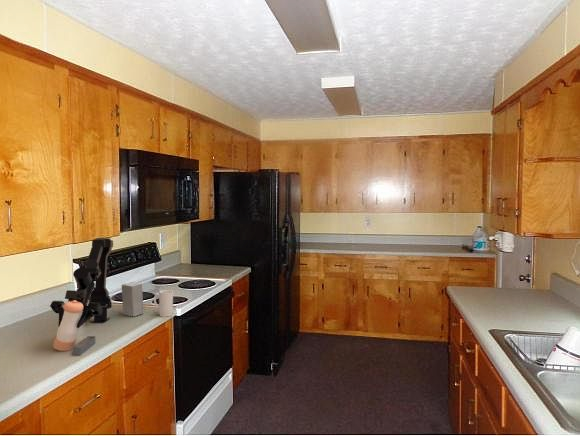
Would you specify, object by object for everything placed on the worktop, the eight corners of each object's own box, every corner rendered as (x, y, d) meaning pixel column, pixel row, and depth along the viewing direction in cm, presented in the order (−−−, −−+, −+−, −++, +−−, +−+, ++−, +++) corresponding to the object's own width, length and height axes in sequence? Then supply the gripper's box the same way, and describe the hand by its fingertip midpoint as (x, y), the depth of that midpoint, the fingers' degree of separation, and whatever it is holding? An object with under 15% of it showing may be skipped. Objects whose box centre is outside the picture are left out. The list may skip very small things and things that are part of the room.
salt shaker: (53, 351, 153) (65, 304, 151) (52, 341, 159) (63, 296, 157) (75, 350, 157) (86, 304, 155) (72, 341, 163) (83, 297, 161)
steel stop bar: (87, 343, 164) (88, 336, 164) (95, 343, 164) (95, 336, 164) (72, 355, 152) (72, 347, 152) (80, 355, 152) (80, 347, 152)
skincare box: (143, 314, 205) (144, 283, 204) (131, 317, 199) (132, 285, 198) (132, 311, 209) (133, 281, 208) (120, 314, 203) (121, 283, 202)
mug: (175, 313, 207) (175, 290, 207) (168, 317, 201) (169, 293, 200) (157, 312, 210) (157, 289, 209) (150, 315, 203) (150, 292, 202)
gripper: (53, 280, 160) (35, 315, 150) (100, 282, 160) (85, 318, 150) (63, 295, 169) (47, 330, 158) (108, 297, 169) (95, 332, 158)
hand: (68, 327), depth 156 cm, fingers closed on salt shaker, 7 cm apart
